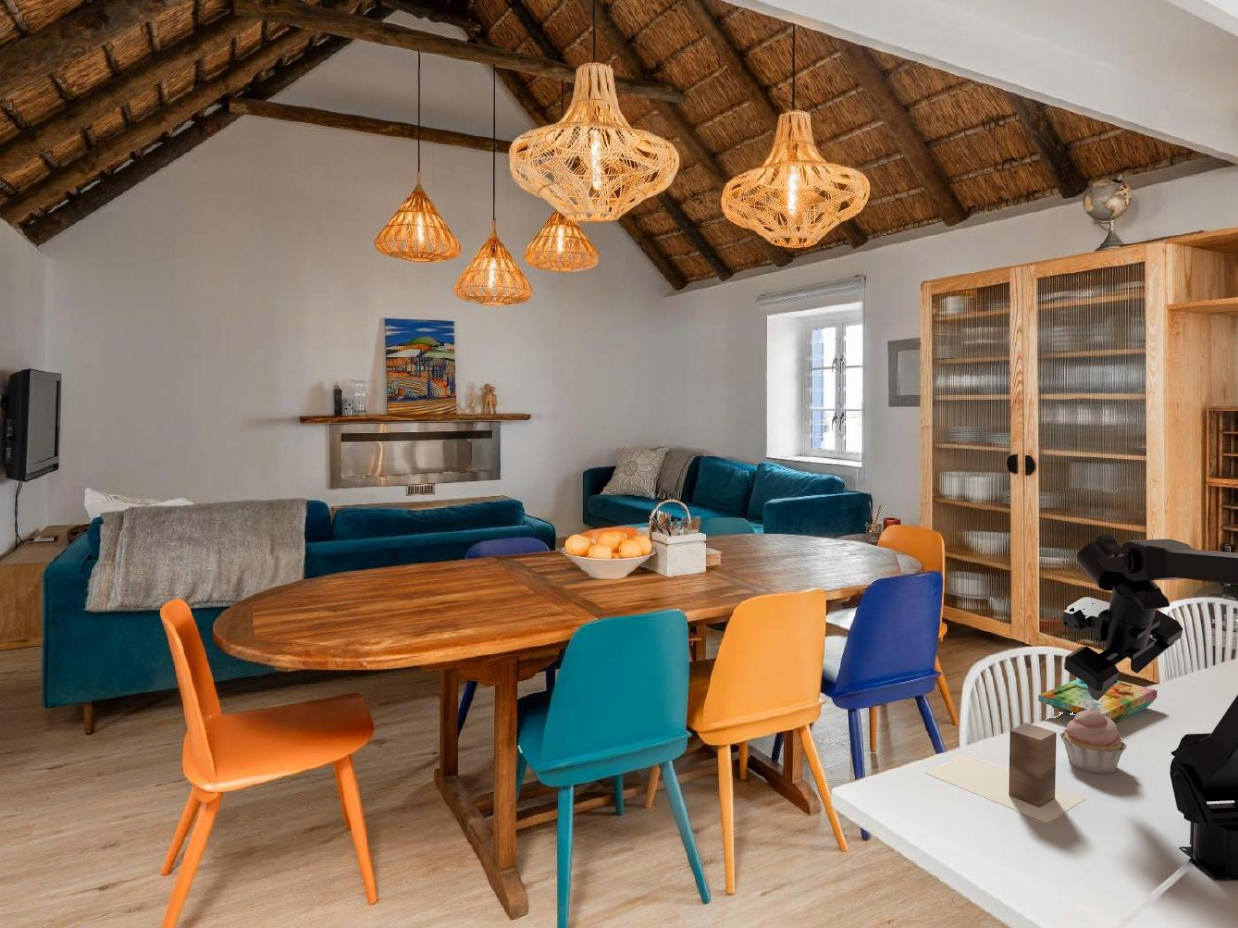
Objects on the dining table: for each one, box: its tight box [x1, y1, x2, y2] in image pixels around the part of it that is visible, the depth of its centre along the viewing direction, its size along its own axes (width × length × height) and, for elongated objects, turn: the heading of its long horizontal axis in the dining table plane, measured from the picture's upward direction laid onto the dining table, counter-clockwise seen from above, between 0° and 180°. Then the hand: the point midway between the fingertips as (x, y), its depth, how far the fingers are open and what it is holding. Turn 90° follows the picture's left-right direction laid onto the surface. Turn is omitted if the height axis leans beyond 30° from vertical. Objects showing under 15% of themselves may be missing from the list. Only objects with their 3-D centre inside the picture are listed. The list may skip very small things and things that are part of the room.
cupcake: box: [1059, 707, 1128, 775], centre depth 126 cm, size 9×9×10 cm
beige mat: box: [925, 753, 1086, 824], centre depth 120 cm, size 19×11×1 cm, turn 35°
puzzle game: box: [1037, 678, 1158, 724], centre depth 150 cm, size 12×5×20 cm
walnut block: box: [1008, 722, 1057, 808], centre depth 116 cm, size 4×4×10 cm
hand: (1114, 684), depth 124 cm, fingers open, 9 cm apart
